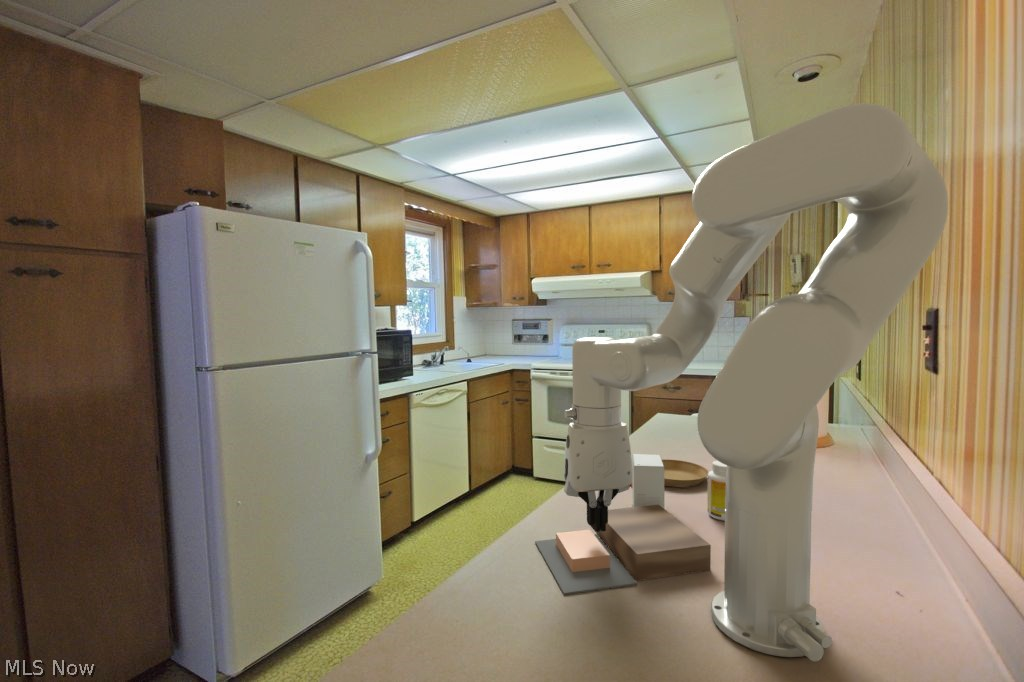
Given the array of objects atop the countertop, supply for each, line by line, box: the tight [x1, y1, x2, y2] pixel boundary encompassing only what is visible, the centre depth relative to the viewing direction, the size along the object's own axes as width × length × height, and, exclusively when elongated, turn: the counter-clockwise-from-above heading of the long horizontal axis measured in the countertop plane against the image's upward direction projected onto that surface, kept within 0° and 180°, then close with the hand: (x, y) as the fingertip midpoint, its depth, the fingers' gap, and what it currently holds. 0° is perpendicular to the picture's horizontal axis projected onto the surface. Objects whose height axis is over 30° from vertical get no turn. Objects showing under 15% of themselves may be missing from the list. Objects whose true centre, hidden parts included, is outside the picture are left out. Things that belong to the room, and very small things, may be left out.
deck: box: [595, 505, 712, 582], centre depth 82 cm, size 16×12×4 cm
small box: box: [631, 453, 666, 510], centre depth 97 cm, size 8×6×10 cm
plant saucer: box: [662, 458, 710, 488], centre depth 116 cm, size 15×15×3 cm
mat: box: [535, 533, 638, 596], centre depth 78 cm, size 16×11×1 cm
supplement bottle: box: [707, 460, 727, 522], centre depth 94 cm, size 6×6×10 cm
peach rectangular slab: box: [555, 529, 610, 572], centre depth 80 cm, size 9×6×2 cm, turn 11°
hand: (597, 527), depth 80 cm, fingers closed
